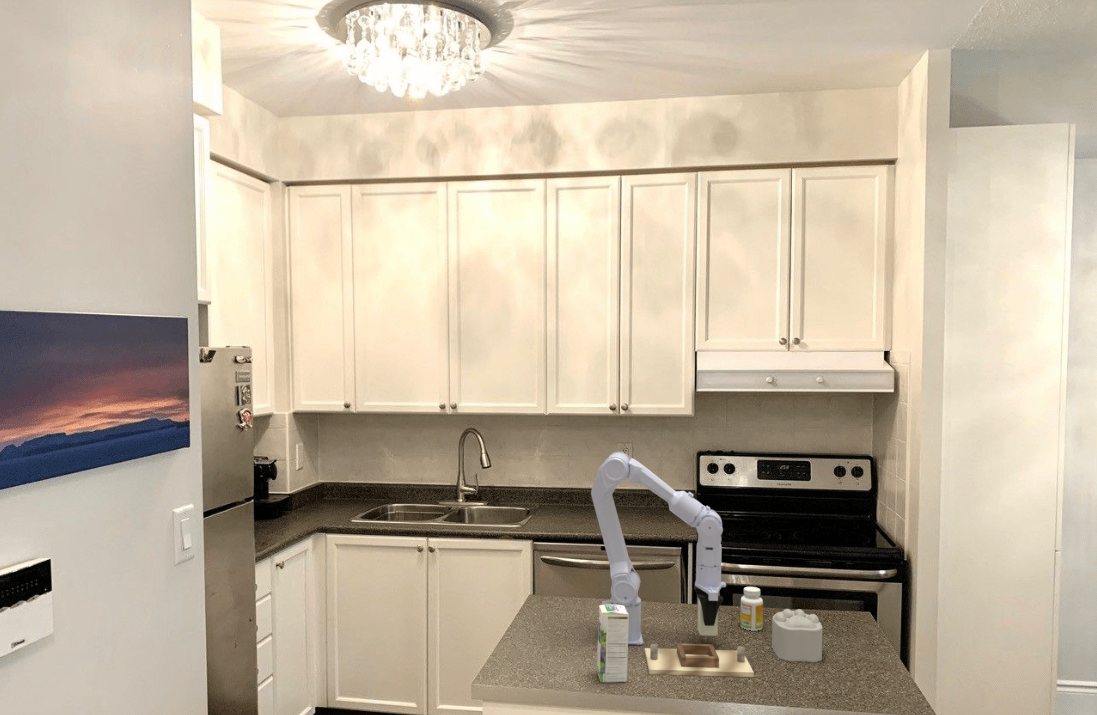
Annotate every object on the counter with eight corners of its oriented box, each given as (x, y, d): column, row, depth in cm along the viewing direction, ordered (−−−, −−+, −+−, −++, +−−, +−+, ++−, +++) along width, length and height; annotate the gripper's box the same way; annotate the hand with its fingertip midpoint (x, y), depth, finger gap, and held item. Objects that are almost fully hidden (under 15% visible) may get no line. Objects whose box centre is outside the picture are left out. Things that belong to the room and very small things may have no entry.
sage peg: (700, 635, 182) (700, 600, 181) (697, 628, 186) (698, 595, 185) (717, 635, 181) (718, 601, 181) (714, 629, 185) (715, 595, 185)
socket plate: (649, 674, 167) (649, 655, 167) (644, 652, 179) (645, 634, 179) (753, 677, 166) (754, 658, 166) (742, 655, 178) (742, 637, 178)
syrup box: (596, 671, 168) (597, 604, 168) (623, 671, 169) (624, 603, 168) (600, 683, 162) (601, 613, 162) (628, 682, 163) (629, 612, 163)
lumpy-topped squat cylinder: (778, 660, 176) (778, 622, 175) (767, 639, 188) (767, 603, 188) (826, 662, 175) (826, 624, 175) (811, 641, 188) (812, 605, 188)
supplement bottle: (760, 624, 198) (761, 586, 198) (764, 632, 193) (765, 592, 193) (738, 623, 199) (739, 585, 199) (741, 630, 194) (742, 591, 193)
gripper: (732, 573, 176) (730, 633, 176) (720, 556, 190) (719, 611, 191) (700, 572, 176) (699, 632, 176) (691, 555, 191) (690, 610, 191)
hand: (707, 621), depth 183 cm, fingers closed on sage peg, 4 cm apart
